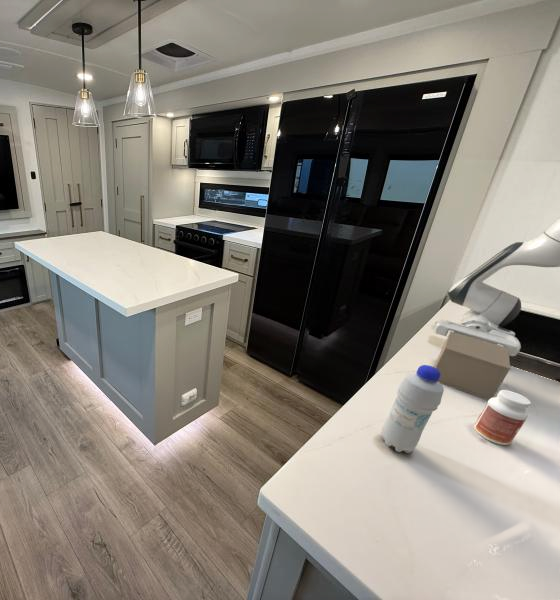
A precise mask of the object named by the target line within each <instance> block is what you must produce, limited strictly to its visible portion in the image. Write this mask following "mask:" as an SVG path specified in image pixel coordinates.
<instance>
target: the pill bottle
mask: <svg viewBox="0 0 560 600" xmlns="http://www.w3.org/2000/svg"><path fill="white" fill-rule="evenodd" d="M496 394H497V395H496V396H493V398H491V399H489V400H488V401H487V402H486V404H485V405H484V407H483V409H482V410H481V412H480V414H479V415H478V417H477V418H476V421H475V422H474V424H473V428H474V431H476V433H478V434H479V435H480V436H481V437H482V438H484V439H486V440H487V441H489V442H492V443H493V444H494V443H495V444H498V445H504V446H506V445H510V444H511V443H512V442H513V441H514V440H515V437H516V435H517V434H518V433H519V432H520V430H521V429H522V427H523V426H524V424H525V423H526V421H527V420H528V418H529V412H528V410H527V409H529V408H530V406H531V402H532V401H530V399H528V398H527V397H525V395H522V394H520V393H518V392H515V391H512V390H507V389H501V390H499V392H498V393H496Z"/></svg>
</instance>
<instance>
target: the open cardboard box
mask: <svg viewBox="0 0 560 600" xmlns="http://www.w3.org/2000/svg"><path fill="white" fill-rule="evenodd" d="M510 362H511V361H510V356H509V348H506V347H503V346H499V345H496V344H492V343H489V342H485V341H482V340H479V339H475V338H472V337H468V336H465V335H461V334H458V333H455V332H451V331H450V333H449V335H448V337H446V340H445V342H444V344H443V346H442V347H441V350H440V352H439V354H438V356H437V358H436V360H435V363H434V366H433V367H434V368H436V369H437V370H439V372H440V378H439V380H438V382H439V383H440V384H443V385H445V386H448V387H451V388H453V389H456V390H459V391H461V392H464V393H467V394H469V395H471V396H474V397H476V398H480V399H482V400H485V401H487V402H488V400H489V399H491V398H493V397H495V395H496V394H497V392H498V390H499V388H500V387H501V385H502V384H503V381H504V380H505V378H506V377H507V375H508V374H509V372H510V370H511V363H510Z"/></svg>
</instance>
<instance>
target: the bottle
mask: <svg viewBox="0 0 560 600" xmlns="http://www.w3.org/2000/svg"><path fill="white" fill-rule="evenodd" d="M439 378H440V372H439V370H437V369H436V368H434V366H432V365H428V364H422V365H420V366H419V367H418V368H417V369H416V372H410V373H407V374H406V376H405V377H404V378H403V380H402V381H401V382H400V384H399V385H398V389H397V391H396V393H397V394H396V395H397V396H396V398H395V400H394V403H393V405H392V407H391V409H390V412H389V414H388V416H387V418H386V419H385V421H384V422H383V424H382V426H381V430H380V438H381V440H383V441H384V444H385V445H386V446H387V447H388V448H389V447H391V446H393V447H394V450H395V452H398V453H401V452H404V453H406V454H408V453H411V452H413V451H414V450H415V448H416V447H418V444H419V442H420V439H421V436H422V434H423V432H424V430H425V427H426V425H427V424H428V422H429V420H430V418H431V417H432V414H433V413H434V412H435V411H437V410H438V407H439V406H440V405H441V402H442V398H443V396H444V391H445V389H444V386H443V385H442V383H440V382H438V380H439Z"/></svg>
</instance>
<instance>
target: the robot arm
mask: <svg viewBox="0 0 560 600" xmlns="http://www.w3.org/2000/svg"><path fill="white" fill-rule="evenodd" d="M510 266H528V267H529V266H530V267H537V268H538V267H539V268H560V217H558V218H557V219H556V220H554V221H553V222H552V223H550V225H549V226H548V227H547V228H545V230H544V231H542V232H541V233H539V234H538V235H536V237H533V238H531V239H529V240H526V241H516V242H514V243H512V244H510V245H508V246H506V247H505V248H504V249H502V250H501V251H499V252H498V253H496V254H494V255H493V256H492V257H491V258H489V259H488V260H487V261H486V262H485V261H484V263H483V264H481V265H480V266H479V267H477V268H475V270H473V271H472V272H470V273H469V274H467V275H466V276H464V277H462V278H461V279H459V280H457V281H456V282H454V284H452V285H451V287H450V288H449V290H448V291H447V295H448V298H449V300H450V301H451V303H453V304H456V305H459V306H461V307H464V308H467V309H468V310H467V311H465V312H464V313H463V314H462V315H461V316H460V318H459V321H458V322H455V321H451V320H448V319H440V320H436V321H435V326H434V328H433V331H432V332H433V333H435V334H436V335H440V336H443V337H445V338H448V335H449V333H450V331H451V332H455V333H458V334H461V335H465V336H468V337H472V338H475V339H479V340H482V341H485V342H489V343H492V344H496V345H499V346H503V347H506V348H509V357H516V356H517V355H518V354H519V352H520V350H521V348H522V345H521V342H520V341H519V339H518V338H517V337H516V333H515V332H514V331H513V330H510V329H507V328H504V327H505V326H507V325H509V324H510V323H512V322H513V321H514V320H515V319H516V318H517V316H519V314H520V312H521V311H522V302H521V301H522V300H521V299H520V298H519V297H518V296H515V295H514V294H511V293H509V292H506V291H504V290H501V289H498V288H496V287H494V286H492V285H489V284H486V283H485V282H484V281H485V280H487V279H489V278H490V277H491V276H493V275H494V274H496V273H497V272H499V271H500V270H502V269H504V268H506V267H510Z"/></svg>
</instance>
